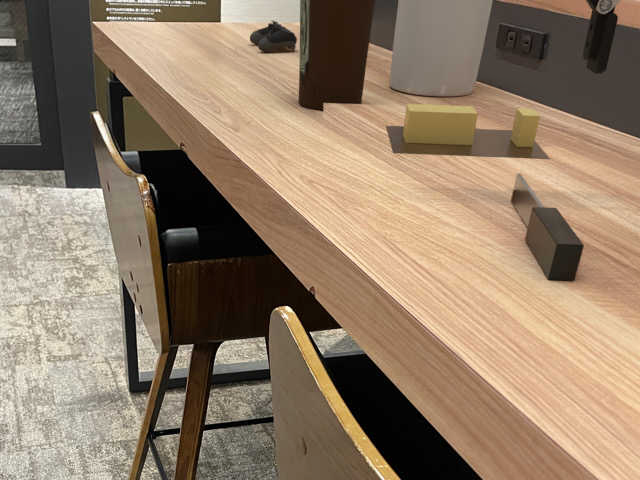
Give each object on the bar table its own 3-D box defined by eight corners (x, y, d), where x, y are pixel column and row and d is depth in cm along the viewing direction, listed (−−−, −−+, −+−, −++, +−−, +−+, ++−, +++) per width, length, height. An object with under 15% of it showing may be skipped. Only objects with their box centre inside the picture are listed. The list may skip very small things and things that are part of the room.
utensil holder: (487, 85, 137) (510, -43, 126) (467, 101, 126) (491, -37, 115) (401, 77, 141) (417, -47, 130) (375, 92, 131) (390, -42, 120)
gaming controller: (247, 41, 168) (254, 13, 165) (282, 51, 170) (289, 23, 167) (258, 51, 159) (264, 21, 156) (294, 61, 161) (301, 32, 158)
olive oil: (364, 98, 127) (384, -107, 111) (366, 113, 118) (388, -107, 103) (295, 95, 127) (306, -109, 112) (292, 110, 119) (304, -108, 103)
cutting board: (524, 143, 106) (526, 130, 105) (547, 172, 95) (550, 158, 94) (384, 137, 107) (385, 125, 106) (391, 166, 96) (393, 152, 95)
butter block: (467, 137, 101) (473, 106, 99) (472, 145, 98) (478, 113, 96) (402, 135, 102) (406, 103, 100) (405, 142, 99) (409, 110, 97)
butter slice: (526, 139, 101) (533, 108, 99) (533, 147, 98) (540, 115, 96) (510, 139, 101) (516, 107, 99) (516, 147, 98) (523, 115, 96)
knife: (574, 281, 68) (584, 245, 67) (547, 279, 69) (557, 244, 67) (523, 202, 86) (530, 171, 84) (502, 201, 86) (508, 170, 84)
